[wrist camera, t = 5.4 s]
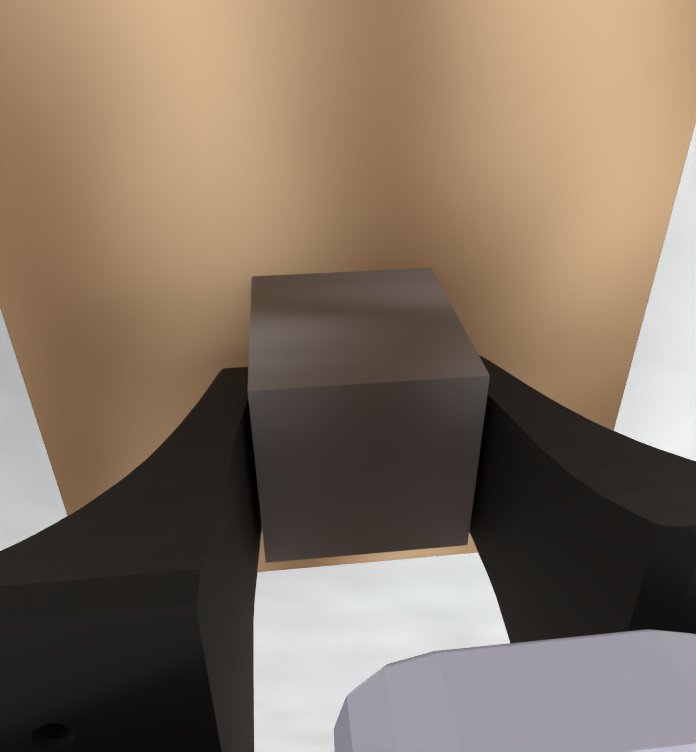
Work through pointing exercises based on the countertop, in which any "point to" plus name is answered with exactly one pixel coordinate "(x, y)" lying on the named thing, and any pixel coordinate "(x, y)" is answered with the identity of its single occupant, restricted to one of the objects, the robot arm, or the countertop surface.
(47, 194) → the cover
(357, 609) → the countertop surface
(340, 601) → the countertop surface
